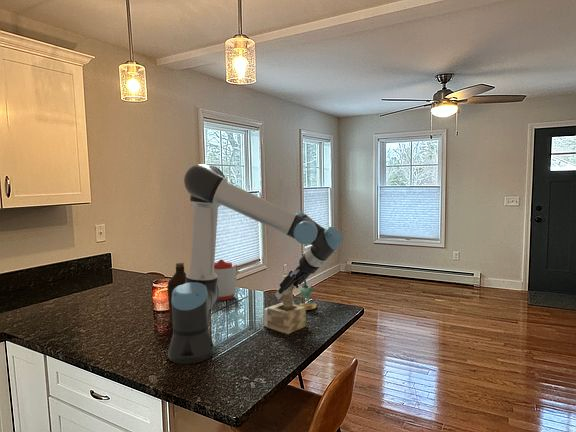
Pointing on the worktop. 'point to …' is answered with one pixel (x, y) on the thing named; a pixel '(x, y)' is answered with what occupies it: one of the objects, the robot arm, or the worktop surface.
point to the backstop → (266, 315)
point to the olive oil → (175, 284)
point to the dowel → (287, 297)
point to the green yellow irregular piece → (306, 293)
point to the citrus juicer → (226, 279)
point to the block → (286, 318)
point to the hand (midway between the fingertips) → (280, 295)
